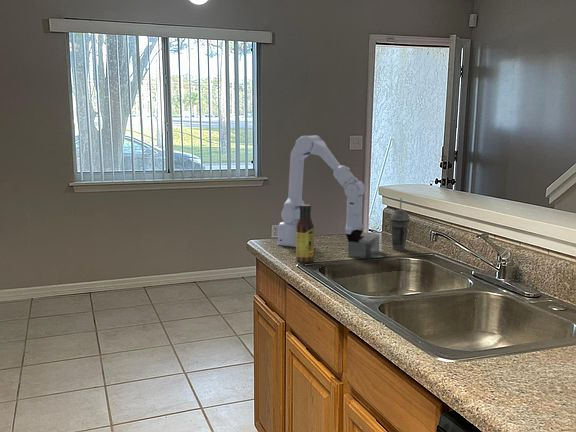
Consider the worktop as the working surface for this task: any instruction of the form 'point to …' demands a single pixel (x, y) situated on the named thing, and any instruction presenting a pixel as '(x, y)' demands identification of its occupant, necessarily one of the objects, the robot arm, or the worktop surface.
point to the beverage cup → (399, 228)
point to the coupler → (364, 246)
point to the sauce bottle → (305, 235)
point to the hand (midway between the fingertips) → (353, 249)
